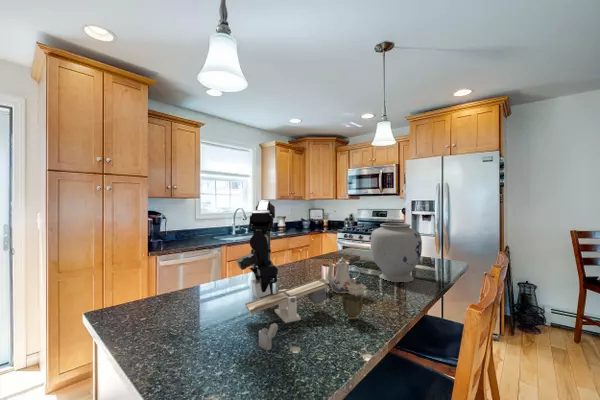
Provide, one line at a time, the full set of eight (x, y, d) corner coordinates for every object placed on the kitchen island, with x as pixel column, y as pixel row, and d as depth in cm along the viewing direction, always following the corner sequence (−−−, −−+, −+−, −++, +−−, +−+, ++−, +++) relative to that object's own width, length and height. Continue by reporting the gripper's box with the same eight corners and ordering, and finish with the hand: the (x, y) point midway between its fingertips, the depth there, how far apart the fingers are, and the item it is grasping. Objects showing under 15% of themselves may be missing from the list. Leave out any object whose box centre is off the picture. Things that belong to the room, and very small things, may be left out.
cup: (363, 324, 99) (362, 300, 99) (341, 322, 100) (341, 299, 100) (362, 315, 106) (362, 294, 106) (342, 314, 107) (342, 292, 108)
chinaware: (306, 298, 131) (304, 262, 130) (317, 284, 147) (316, 252, 145) (368, 306, 121) (367, 267, 119) (373, 290, 136) (372, 256, 134)
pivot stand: (274, 311, 111) (274, 290, 111) (288, 309, 113) (288, 288, 113) (285, 323, 100) (285, 299, 100) (301, 320, 103) (300, 296, 103)
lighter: (258, 345, 84) (258, 318, 85) (263, 343, 86) (263, 316, 86) (273, 354, 79) (273, 325, 80) (278, 352, 81) (278, 323, 81)
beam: (248, 320, 104) (245, 303, 104) (319, 294, 116) (317, 279, 116) (253, 328, 98) (250, 310, 97) (328, 299, 110) (326, 283, 110)
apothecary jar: (431, 285, 143) (430, 225, 144) (377, 285, 144) (377, 225, 144) (411, 272, 170) (410, 221, 170) (366, 272, 171) (365, 222, 171)
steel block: (253, 294, 104) (251, 280, 104) (266, 289, 106) (264, 276, 106) (257, 298, 99) (254, 284, 99) (270, 293, 101) (268, 280, 101)
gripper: (233, 244, 108) (233, 285, 108) (245, 252, 91) (245, 301, 91) (261, 242, 112) (262, 282, 112) (278, 249, 95) (278, 296, 95)
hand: (261, 289), depth 103 cm, fingers closed on steel block, 5 cm apart
